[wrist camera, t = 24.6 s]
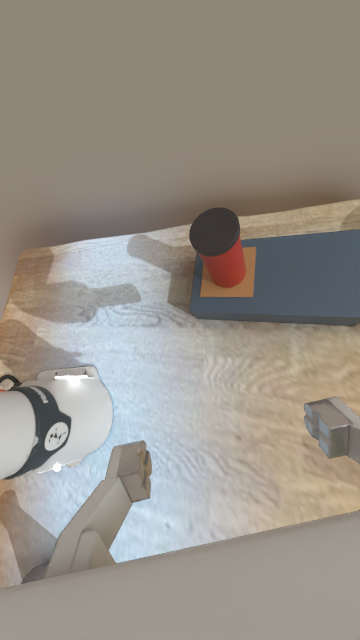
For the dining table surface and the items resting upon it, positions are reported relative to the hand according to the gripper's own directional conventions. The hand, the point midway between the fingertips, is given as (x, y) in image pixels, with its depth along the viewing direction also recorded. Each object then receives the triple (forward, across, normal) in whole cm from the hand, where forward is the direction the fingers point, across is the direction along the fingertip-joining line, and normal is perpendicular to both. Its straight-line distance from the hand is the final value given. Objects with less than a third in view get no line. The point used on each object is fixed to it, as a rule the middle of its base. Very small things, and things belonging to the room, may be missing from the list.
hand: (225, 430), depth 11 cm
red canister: (+25, -8, -3) cm, 27 cm away
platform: (+26, -14, +1) cm, 30 cm away
